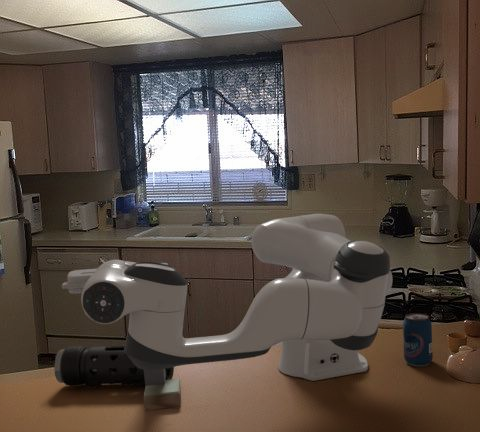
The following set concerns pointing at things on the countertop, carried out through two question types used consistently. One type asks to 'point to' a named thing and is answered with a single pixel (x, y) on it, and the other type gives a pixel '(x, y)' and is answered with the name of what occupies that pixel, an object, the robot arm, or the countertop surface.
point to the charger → (154, 377)
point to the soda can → (417, 339)
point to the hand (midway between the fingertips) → (122, 270)
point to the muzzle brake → (98, 367)
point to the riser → (163, 395)
